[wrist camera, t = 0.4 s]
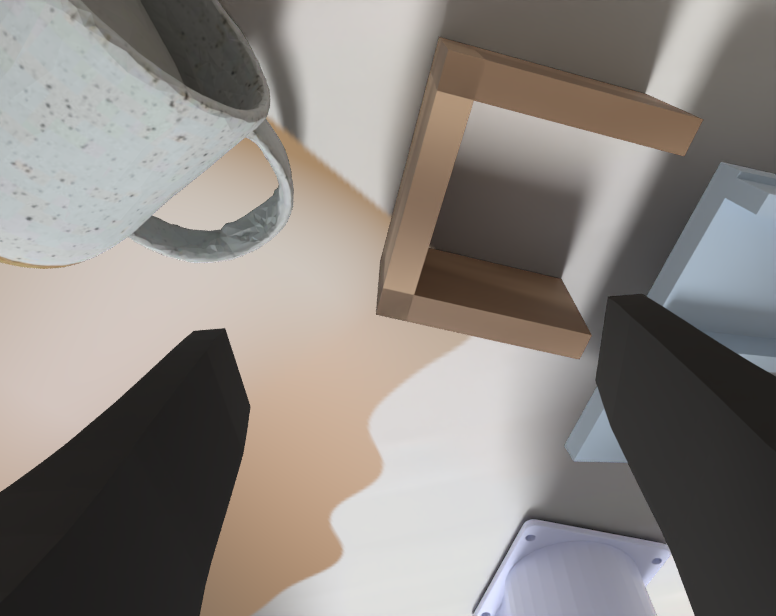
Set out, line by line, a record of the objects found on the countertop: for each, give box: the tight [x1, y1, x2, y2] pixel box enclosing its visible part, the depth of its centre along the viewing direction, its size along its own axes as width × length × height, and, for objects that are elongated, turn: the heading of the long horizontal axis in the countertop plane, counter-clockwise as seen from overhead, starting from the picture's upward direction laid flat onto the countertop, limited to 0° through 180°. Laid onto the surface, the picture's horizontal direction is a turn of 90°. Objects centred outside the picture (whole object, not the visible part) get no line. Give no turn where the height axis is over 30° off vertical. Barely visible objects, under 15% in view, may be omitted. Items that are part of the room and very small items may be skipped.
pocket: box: [376, 37, 703, 359], centre depth 18 cm, size 8×7×4 cm
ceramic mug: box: [0, 0, 294, 269], centre depth 16 cm, size 11×8×8 cm
